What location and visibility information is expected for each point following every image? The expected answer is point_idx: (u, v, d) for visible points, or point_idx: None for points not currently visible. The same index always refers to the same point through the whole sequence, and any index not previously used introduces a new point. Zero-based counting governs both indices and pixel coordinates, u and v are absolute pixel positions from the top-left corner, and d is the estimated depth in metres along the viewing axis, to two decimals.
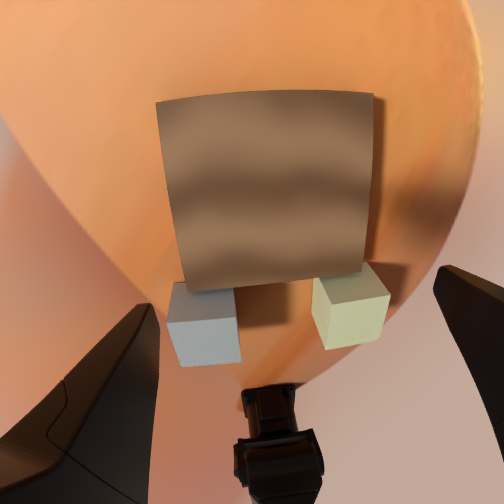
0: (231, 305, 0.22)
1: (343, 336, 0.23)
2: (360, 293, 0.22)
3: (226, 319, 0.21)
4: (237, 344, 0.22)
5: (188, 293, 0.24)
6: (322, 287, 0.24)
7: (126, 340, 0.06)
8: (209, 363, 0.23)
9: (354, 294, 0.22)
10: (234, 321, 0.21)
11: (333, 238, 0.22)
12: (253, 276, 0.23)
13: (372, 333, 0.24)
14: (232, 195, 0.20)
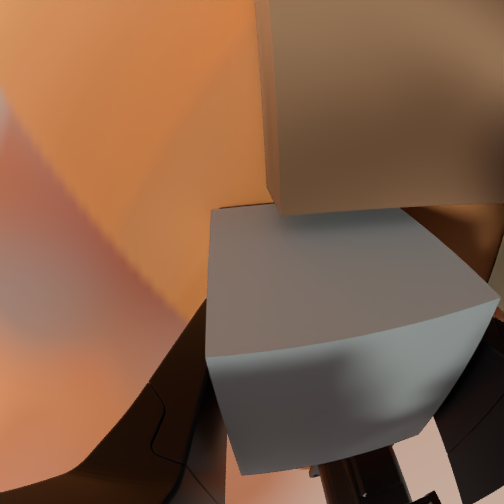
0: (456, 261, 0.05)
1: None
2: None
3: (476, 312, 0.04)
4: (445, 394, 0.05)
5: (275, 230, 0.07)
6: None
7: None
8: (334, 458, 0.06)
9: None
10: (490, 316, 0.04)
11: None
12: (474, 174, 0.06)
13: None
14: None
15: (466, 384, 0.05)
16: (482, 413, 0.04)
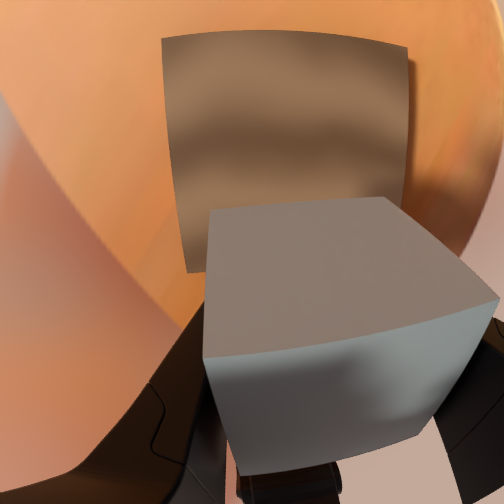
0: (456, 262, 0.05)
1: None
2: None
3: (475, 313, 0.04)
4: (444, 395, 0.05)
5: (273, 231, 0.07)
6: None
7: None
8: (333, 459, 0.06)
9: None
10: (489, 317, 0.04)
11: None
12: None
13: None
14: (248, 148, 0.16)
15: (466, 384, 0.05)
16: (482, 413, 0.04)
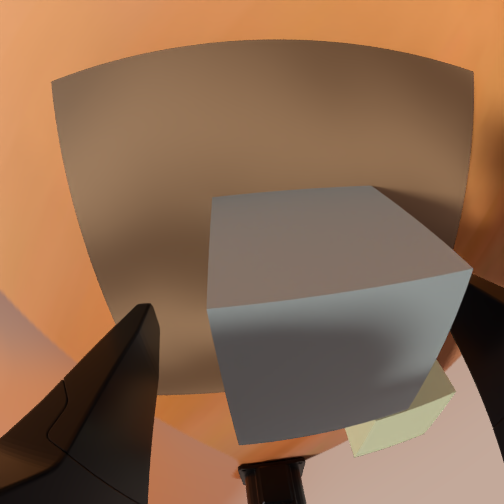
0: (432, 239, 0.06)
1: (382, 442, 0.13)
2: None
3: (448, 281, 0.05)
4: (429, 365, 0.06)
5: (268, 213, 0.07)
6: None
7: (126, 340, 0.06)
8: (327, 428, 0.07)
9: None
10: (464, 286, 0.05)
11: None
12: None
13: (418, 431, 0.14)
14: None
15: None
16: None
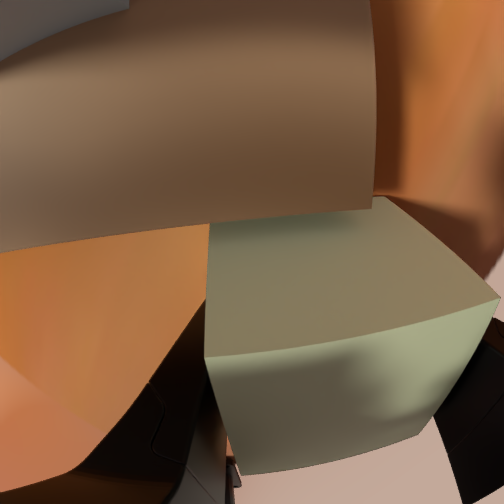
0: None
1: (300, 450, 0.05)
2: (376, 295, 0.04)
3: None
4: None
5: None
6: None
7: None
8: None
9: (346, 299, 0.04)
10: None
11: (232, 45, 0.04)
12: None
13: (404, 428, 0.06)
14: None
15: (466, 384, 0.05)
16: (482, 413, 0.04)
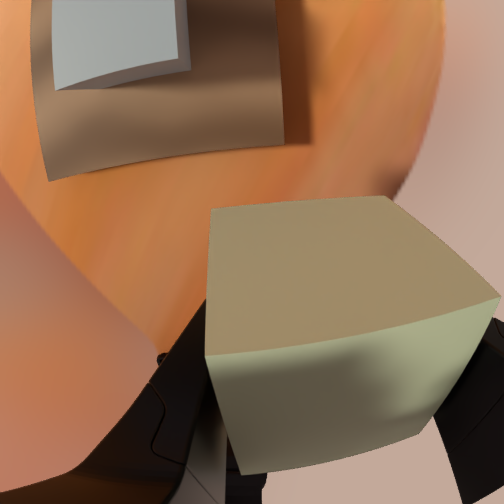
0: None
1: (301, 449, 0.05)
2: (377, 293, 0.04)
3: None
4: (170, 6, 0.08)
5: None
6: None
7: None
8: (108, 68, 0.08)
9: (347, 298, 0.04)
10: None
11: (228, 86, 0.14)
12: (119, 150, 0.15)
13: (405, 427, 0.06)
14: None
15: (466, 384, 0.05)
16: (482, 413, 0.04)
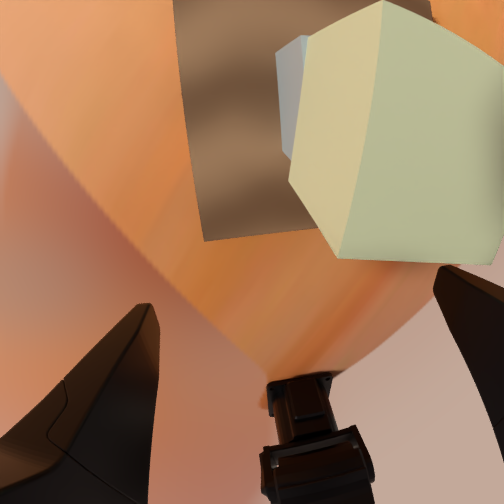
0: None
1: (416, 201, 0.05)
2: None
3: None
4: None
5: None
6: (335, 27, 0.05)
7: (126, 340, 0.06)
8: None
9: None
10: None
11: None
12: (297, 216, 0.16)
13: (487, 230, 0.06)
14: (272, 95, 0.13)
15: None
16: None
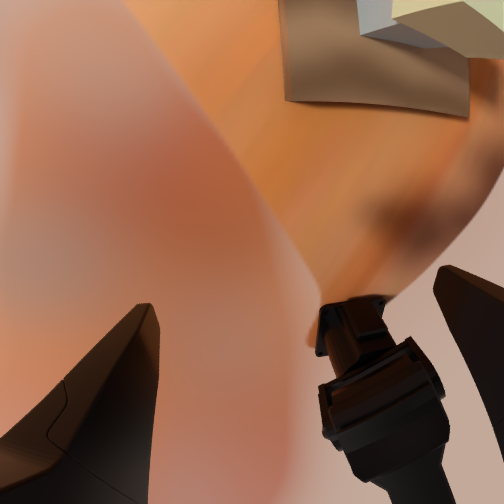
0: None
1: None
2: None
3: None
4: None
5: None
6: None
7: (126, 340, 0.06)
8: None
9: None
10: None
11: (444, 68, 0.15)
12: (372, 91, 0.15)
13: None
14: None
15: None
16: None
